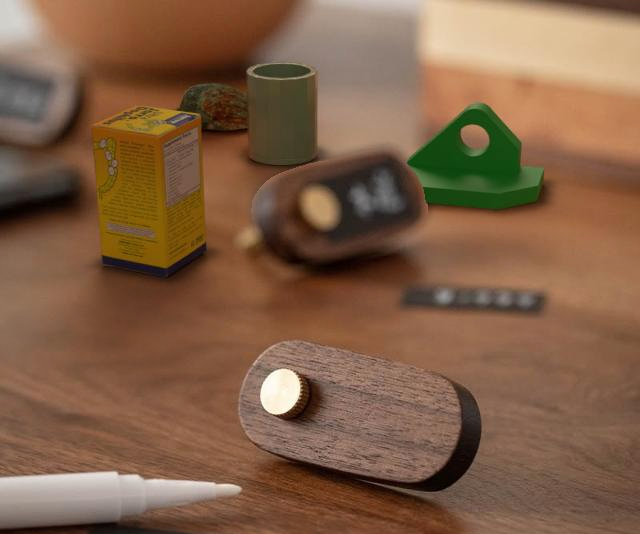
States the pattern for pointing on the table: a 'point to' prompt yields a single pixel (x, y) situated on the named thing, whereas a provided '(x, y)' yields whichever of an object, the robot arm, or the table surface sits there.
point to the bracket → (476, 165)
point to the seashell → (216, 106)
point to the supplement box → (150, 189)
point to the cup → (282, 113)
